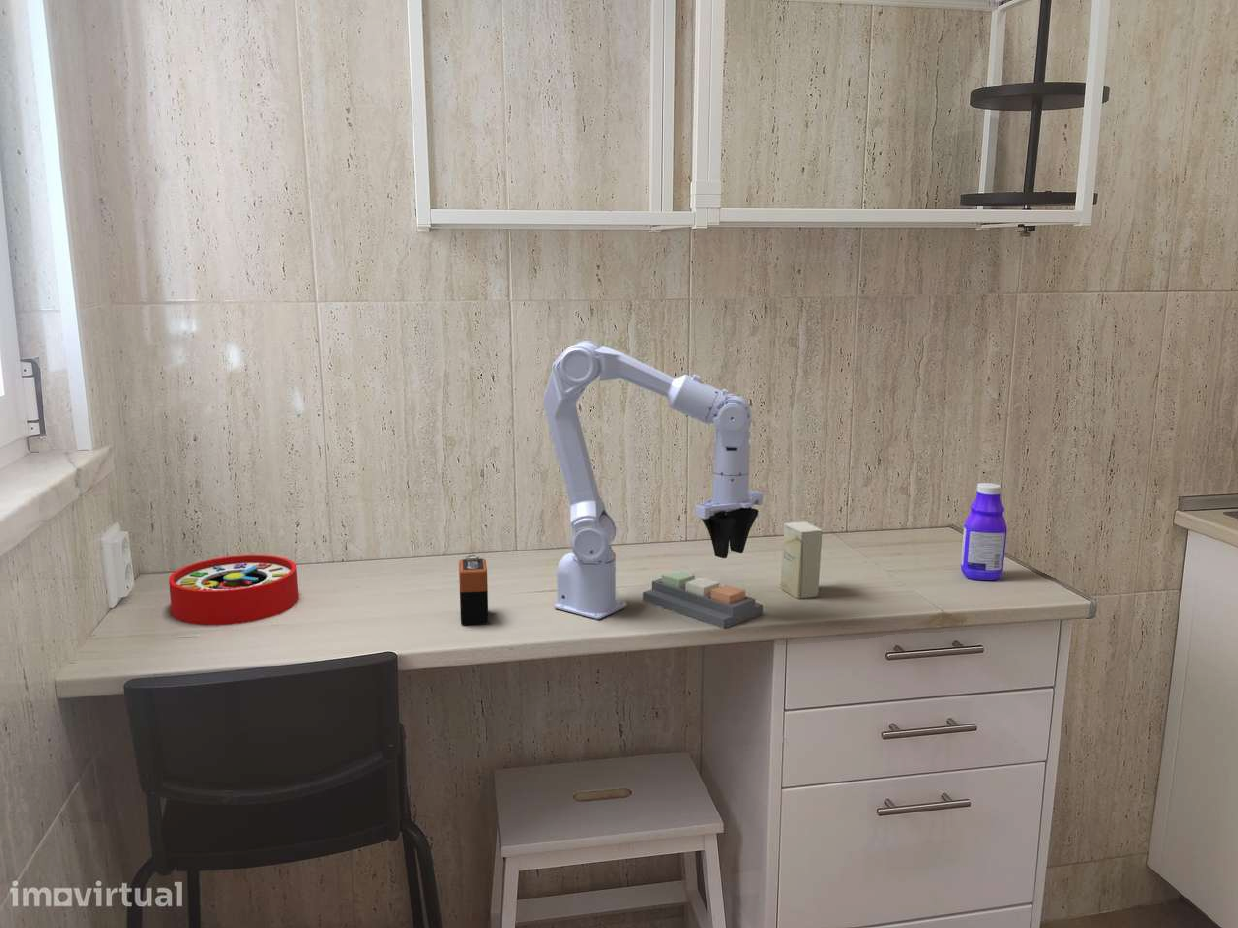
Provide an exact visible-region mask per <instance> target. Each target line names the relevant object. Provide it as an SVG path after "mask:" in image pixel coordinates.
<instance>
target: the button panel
mask: <svg viewBox="0 0 1238 928" xmlns="http://www.w3.org/2000/svg"><path fill="white" fill-rule="evenodd" d="M642 601H643V602H646V603H649V604H652V605H655V606H657V607H660V608H663V609H665V610H669V611H672V612H675V613H678V614H681V615H684V616H686V617H689V618H692V619H695V620H698V621H700V622H703V623H706V624H710V625H713V626H715V627H719V628H721V629H727V628H728V627H731V626H734V625H737V624H739V623H742V622H744V621H747V620H750V619H753V618H754V617H757V616H760V615H762V614H764V604H762V603H759V602H756V598H753V597H750V596H746V595H745V599H744V600H741V601H739V602H736V603H733V604H730V605H729V604H725V603H722V602H719V601H716V600H713V599H710V594H709V595H707V596H701V595H697V594H694V593H691V592H688V591H685V587H682V588H676V587H672V586H669V585H666V584H663V583H662V577H660V578H658V579H654V580H651V589H649V590H646V591H643V592H642Z"/></svg>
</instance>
